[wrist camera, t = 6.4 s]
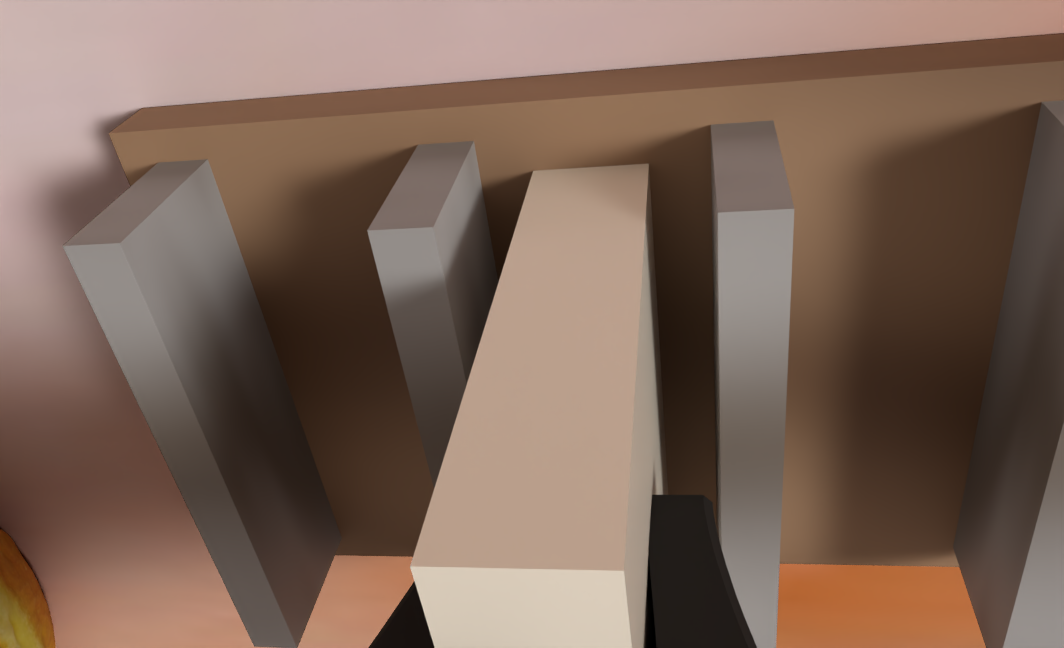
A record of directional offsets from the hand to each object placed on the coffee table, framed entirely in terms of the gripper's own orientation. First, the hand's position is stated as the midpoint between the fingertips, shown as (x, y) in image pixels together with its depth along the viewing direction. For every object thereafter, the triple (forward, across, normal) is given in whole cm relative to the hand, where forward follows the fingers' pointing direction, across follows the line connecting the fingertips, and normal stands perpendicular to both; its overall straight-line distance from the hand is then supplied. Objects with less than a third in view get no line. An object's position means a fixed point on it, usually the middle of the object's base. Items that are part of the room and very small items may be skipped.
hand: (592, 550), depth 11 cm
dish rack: (+5, 0, 0) cm, 5 cm away
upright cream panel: (+4, 0, 0) cm, 4 cm away
